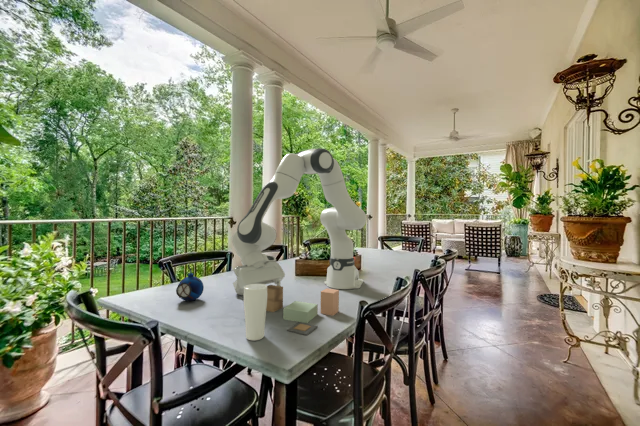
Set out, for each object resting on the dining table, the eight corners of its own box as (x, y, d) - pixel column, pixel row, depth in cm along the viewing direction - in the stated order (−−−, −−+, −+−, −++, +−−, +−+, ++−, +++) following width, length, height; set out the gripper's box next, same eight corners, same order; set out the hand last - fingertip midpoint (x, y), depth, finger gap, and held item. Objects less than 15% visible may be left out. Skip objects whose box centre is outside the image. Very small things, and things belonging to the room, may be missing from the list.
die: (257, 295, 131) (254, 275, 136) (250, 290, 123) (246, 269, 128) (240, 301, 131) (237, 281, 136) (231, 296, 124) (228, 275, 129)
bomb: (170, 304, 114) (170, 266, 114) (185, 296, 125) (185, 261, 125) (195, 305, 113) (195, 266, 113) (207, 297, 124) (207, 261, 124)
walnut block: (270, 305, 116) (270, 284, 116) (282, 307, 113) (283, 286, 113) (260, 309, 110) (260, 288, 110) (273, 312, 108) (273, 290, 108)
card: (298, 323, 97) (298, 321, 97) (317, 327, 94) (317, 325, 94) (286, 330, 91) (287, 328, 91) (306, 335, 88) (306, 333, 88)
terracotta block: (326, 309, 112) (326, 288, 112) (338, 311, 109) (338, 290, 109) (320, 313, 107) (320, 291, 107) (333, 315, 105) (333, 293, 105)
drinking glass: (270, 338, 85) (271, 287, 85) (248, 344, 81) (249, 290, 81) (261, 330, 91) (261, 282, 91) (239, 336, 87) (240, 285, 87)
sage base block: (295, 311, 109) (295, 301, 109) (317, 315, 106) (317, 304, 106) (283, 320, 101) (283, 308, 101) (307, 324, 98) (307, 312, 98)
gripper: (235, 262, 109) (251, 293, 103) (277, 256, 124) (293, 283, 118) (228, 272, 112) (243, 303, 105) (270, 265, 127) (285, 292, 121)
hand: (270, 292), depth 112 cm, fingers open, 8 cm apart
